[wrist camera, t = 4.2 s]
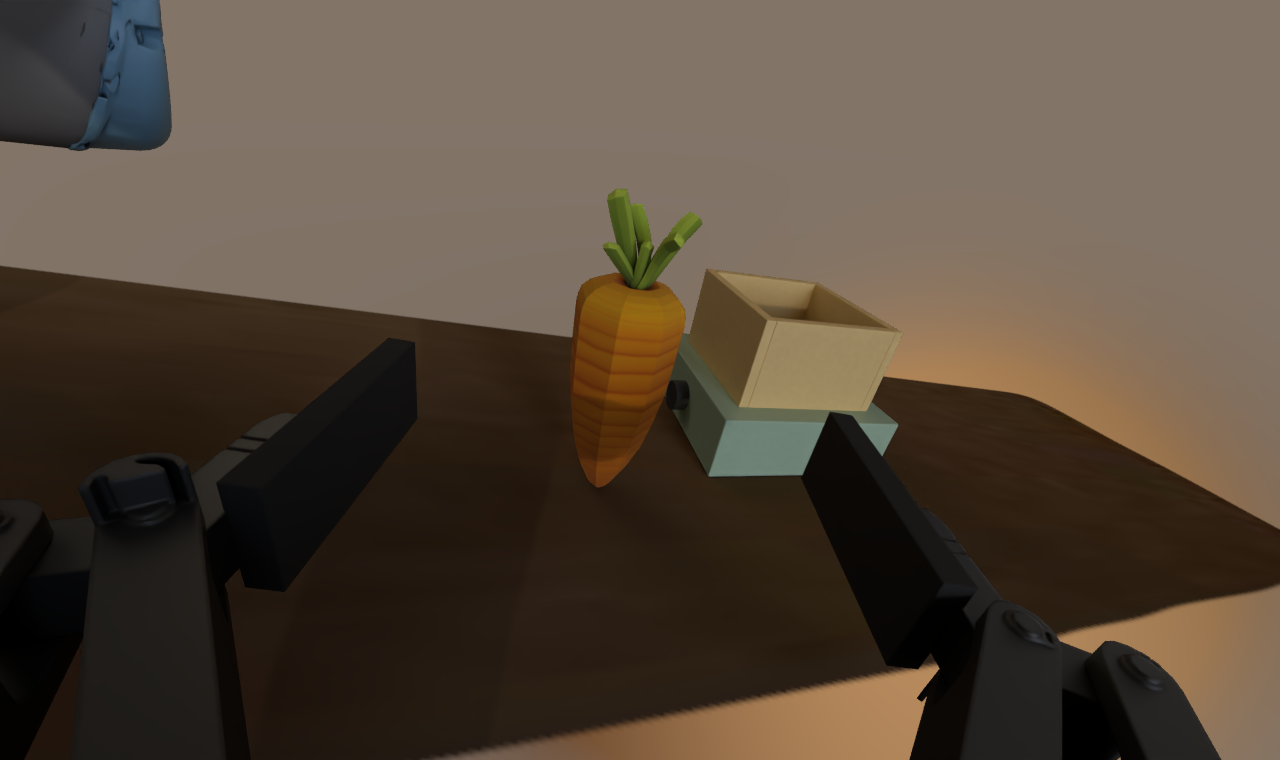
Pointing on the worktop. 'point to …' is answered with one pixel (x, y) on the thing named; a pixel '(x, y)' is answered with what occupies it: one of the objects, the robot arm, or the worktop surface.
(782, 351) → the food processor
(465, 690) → the worktop surface
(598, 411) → the carrot
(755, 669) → the worktop surface
